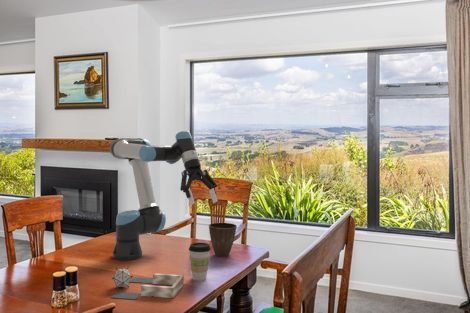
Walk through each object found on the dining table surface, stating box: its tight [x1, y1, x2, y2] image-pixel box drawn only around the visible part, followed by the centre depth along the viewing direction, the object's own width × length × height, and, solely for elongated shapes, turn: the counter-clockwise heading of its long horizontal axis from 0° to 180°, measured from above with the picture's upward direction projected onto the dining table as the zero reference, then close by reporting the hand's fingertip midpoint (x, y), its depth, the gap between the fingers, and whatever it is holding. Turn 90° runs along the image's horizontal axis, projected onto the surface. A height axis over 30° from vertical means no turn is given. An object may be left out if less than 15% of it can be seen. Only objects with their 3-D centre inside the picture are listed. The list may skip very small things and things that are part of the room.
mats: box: [110, 276, 153, 301], centre depth 173 cm, size 10×24×1 cm, turn 173°
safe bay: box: [140, 272, 185, 299], centre depth 171 cm, size 13×15×4 cm
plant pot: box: [208, 222, 238, 258], centre depth 225 cm, size 15×15×16 cm
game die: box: [111, 266, 134, 290], centre depth 174 cm, size 9×8×10 cm
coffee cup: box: [188, 242, 212, 281], centre depth 187 cm, size 10×10×15 cm
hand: (204, 203), depth 191 cm, fingers open, 13 cm apart
